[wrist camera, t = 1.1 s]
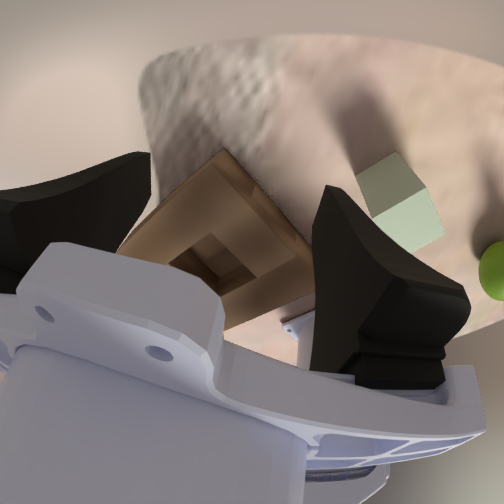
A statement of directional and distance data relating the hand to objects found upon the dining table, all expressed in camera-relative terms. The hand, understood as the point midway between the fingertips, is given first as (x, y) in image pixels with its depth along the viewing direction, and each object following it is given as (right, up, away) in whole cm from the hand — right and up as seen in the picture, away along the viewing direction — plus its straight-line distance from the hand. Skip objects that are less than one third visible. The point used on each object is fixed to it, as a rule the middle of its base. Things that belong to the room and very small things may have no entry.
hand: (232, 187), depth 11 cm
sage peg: (+11, +3, +8) cm, 14 cm away
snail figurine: (+24, -3, +10) cm, 26 cm away
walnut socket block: (-2, -2, +14) cm, 14 cm away
